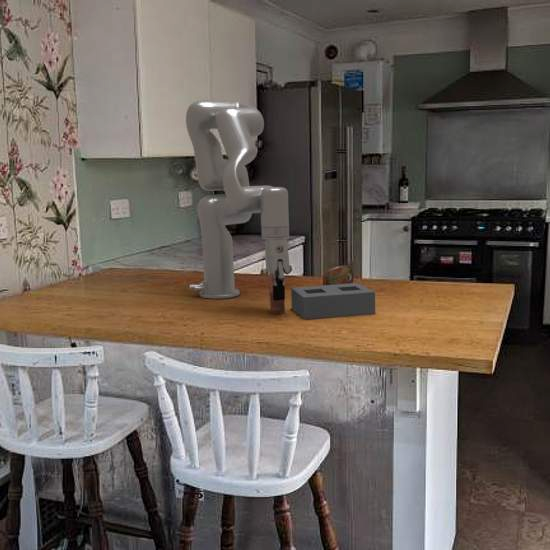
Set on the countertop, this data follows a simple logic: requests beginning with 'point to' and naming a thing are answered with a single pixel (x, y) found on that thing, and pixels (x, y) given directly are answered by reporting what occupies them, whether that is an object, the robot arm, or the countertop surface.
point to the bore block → (332, 300)
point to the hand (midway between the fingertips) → (277, 297)
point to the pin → (277, 305)
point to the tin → (338, 276)
